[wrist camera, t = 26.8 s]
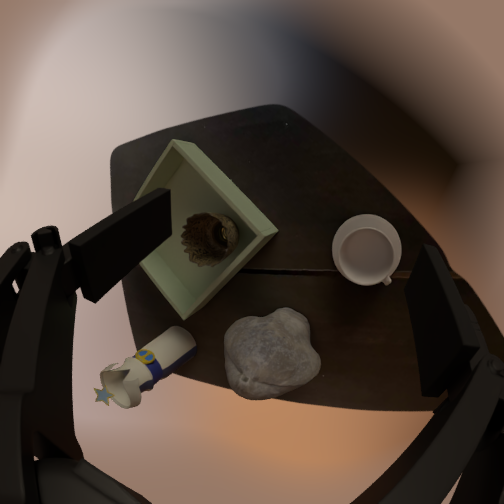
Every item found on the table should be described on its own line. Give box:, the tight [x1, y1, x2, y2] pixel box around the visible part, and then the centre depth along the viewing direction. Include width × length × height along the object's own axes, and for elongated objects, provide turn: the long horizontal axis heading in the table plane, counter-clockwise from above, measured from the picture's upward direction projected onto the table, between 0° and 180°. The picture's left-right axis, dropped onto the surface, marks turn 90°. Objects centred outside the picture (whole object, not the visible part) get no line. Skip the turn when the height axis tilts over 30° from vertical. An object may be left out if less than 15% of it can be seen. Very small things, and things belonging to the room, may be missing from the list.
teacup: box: [332, 214, 401, 285], centre depth 35 cm, size 10×10×5 cm
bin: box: [133, 139, 279, 320], centre depth 45 cm, size 21×21×6 cm
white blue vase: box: [94, 326, 197, 409], centre depth 43 cm, size 8×8×25 cm
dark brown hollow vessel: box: [181, 212, 239, 267], centre depth 40 cm, size 8×7×8 cm
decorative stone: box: [224, 308, 321, 400], centre depth 38 cm, size 15×10×15 cm
